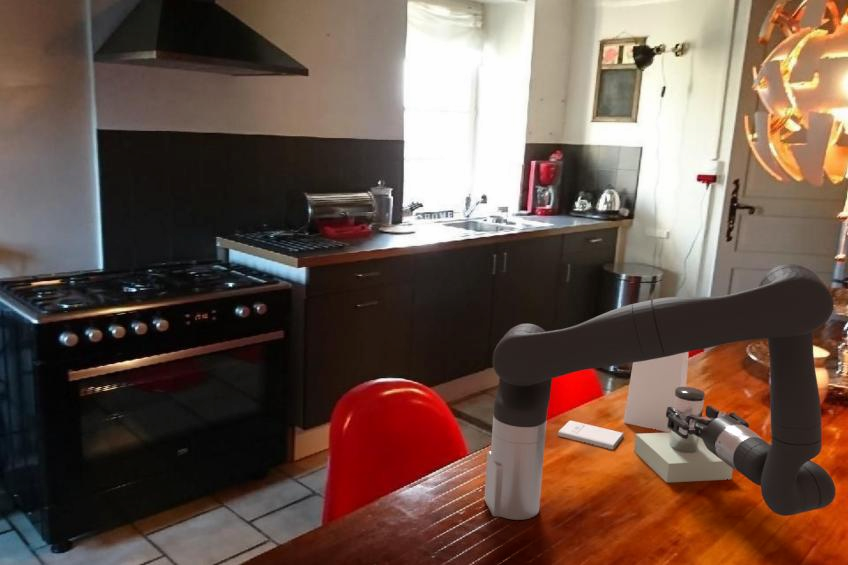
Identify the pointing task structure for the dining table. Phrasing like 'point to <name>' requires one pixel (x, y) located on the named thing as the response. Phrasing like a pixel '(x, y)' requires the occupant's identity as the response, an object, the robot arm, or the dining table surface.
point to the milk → (654, 390)
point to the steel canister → (686, 404)
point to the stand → (680, 460)
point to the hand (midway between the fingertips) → (687, 410)
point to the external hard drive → (591, 434)
